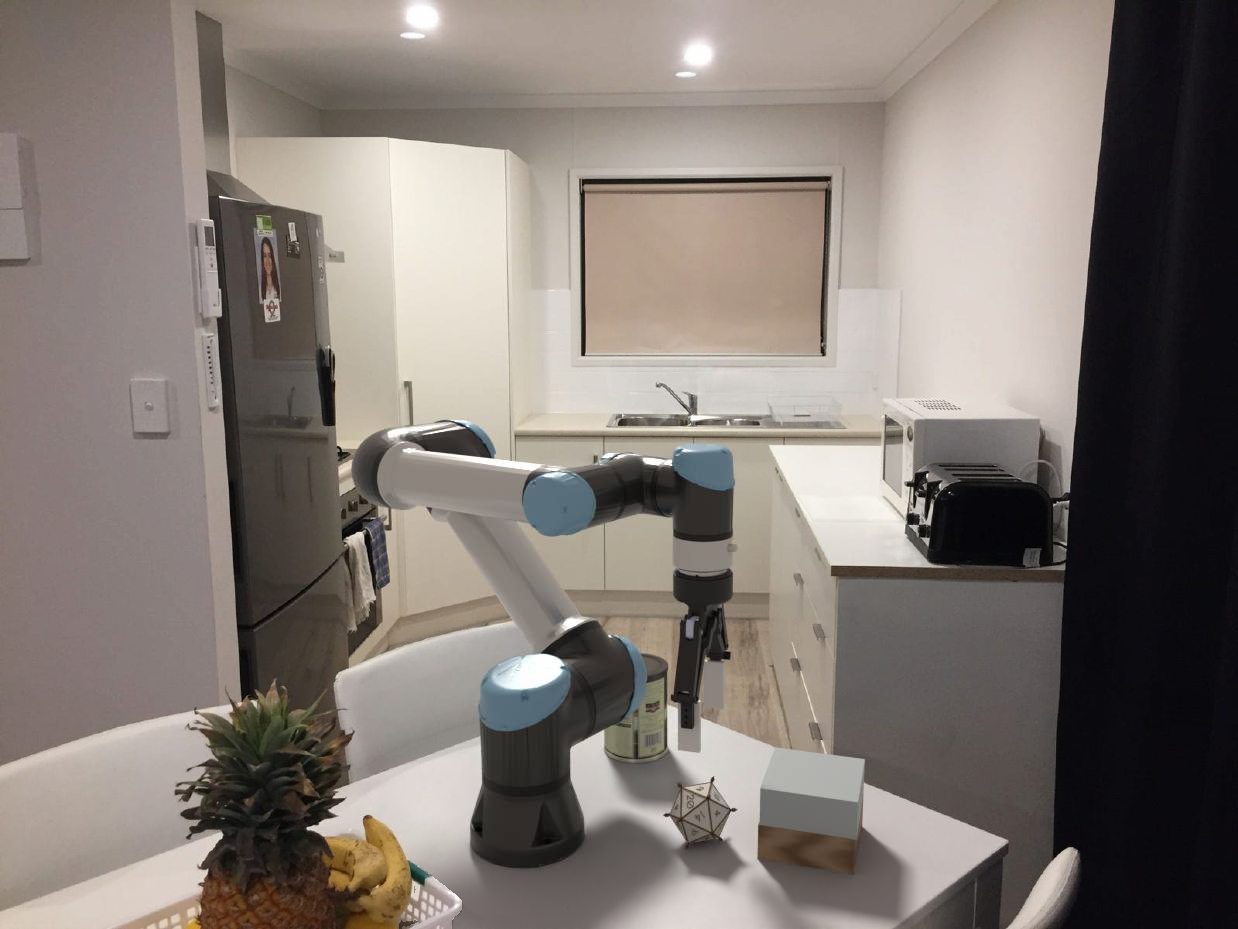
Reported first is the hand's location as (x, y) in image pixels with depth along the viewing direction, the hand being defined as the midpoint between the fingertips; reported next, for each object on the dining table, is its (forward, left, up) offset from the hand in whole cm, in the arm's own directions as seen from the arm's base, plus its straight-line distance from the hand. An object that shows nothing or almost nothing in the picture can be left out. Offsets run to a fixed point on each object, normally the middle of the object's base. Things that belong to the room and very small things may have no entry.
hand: (702, 728), depth 129 cm
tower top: (+14, +4, -11) cm, 18 cm away
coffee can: (-16, +23, -16) cm, 32 cm away
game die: (0, 0, -16) cm, 16 cm away
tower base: (+14, +4, -16) cm, 22 cm away
